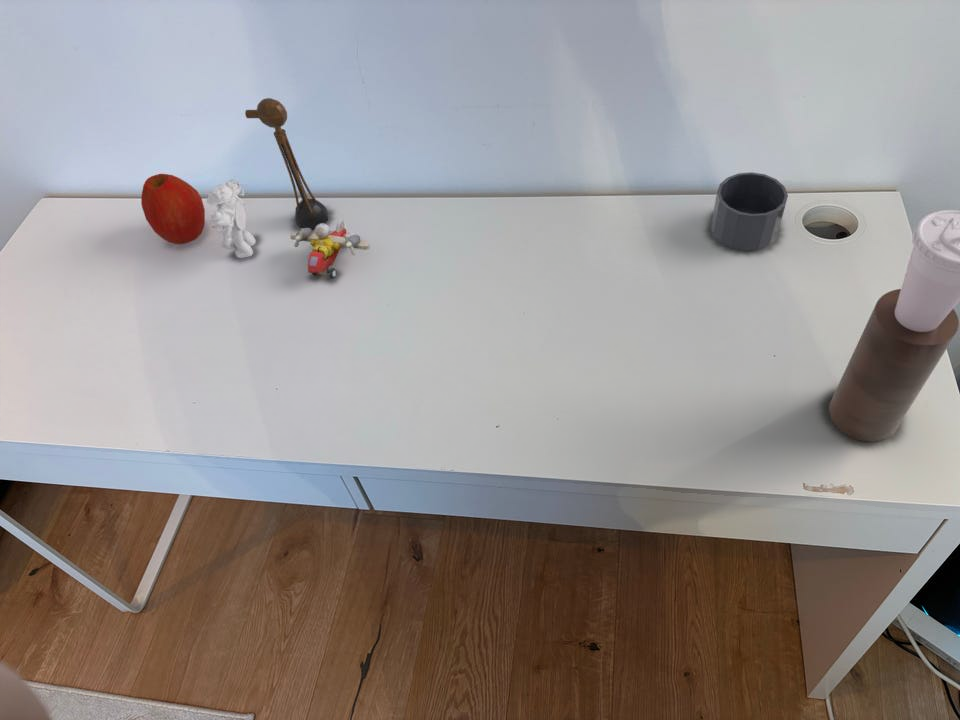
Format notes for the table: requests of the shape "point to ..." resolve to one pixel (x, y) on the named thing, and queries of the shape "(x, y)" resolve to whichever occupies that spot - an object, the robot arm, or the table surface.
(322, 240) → the toy airplane
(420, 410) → the table surface
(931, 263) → the smoothie
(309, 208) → the wooden tabletop sculpture
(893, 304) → the stand
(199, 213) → the red oval fruit
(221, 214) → the hat wearing toy figure
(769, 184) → the grey cup holder
